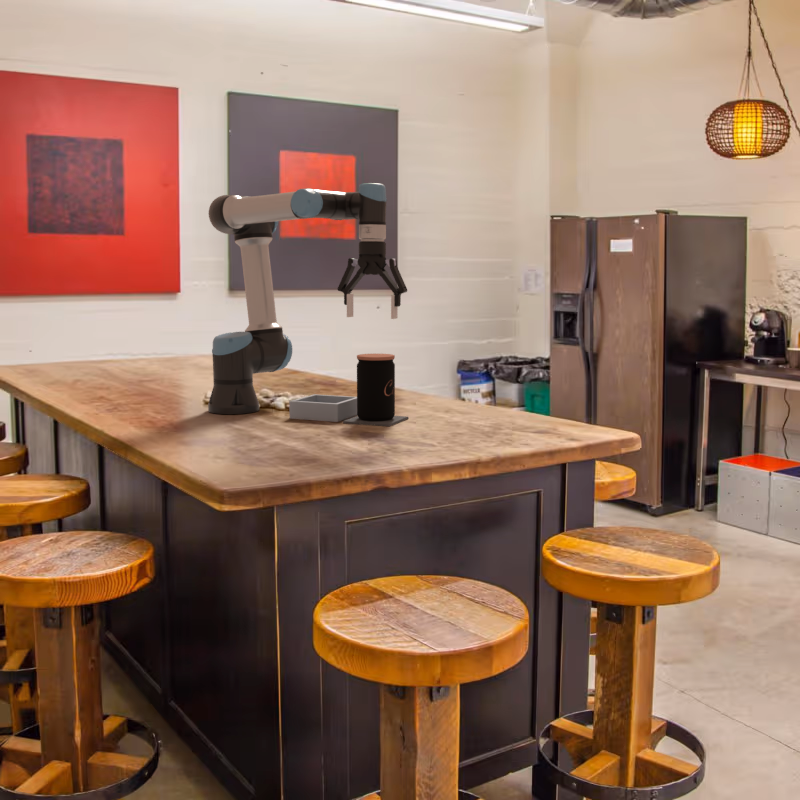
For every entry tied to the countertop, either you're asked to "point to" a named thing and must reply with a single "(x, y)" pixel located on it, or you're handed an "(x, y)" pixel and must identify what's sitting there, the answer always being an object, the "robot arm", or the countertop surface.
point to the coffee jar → (375, 387)
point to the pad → (378, 423)
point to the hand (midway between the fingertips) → (371, 317)
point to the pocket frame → (323, 408)
